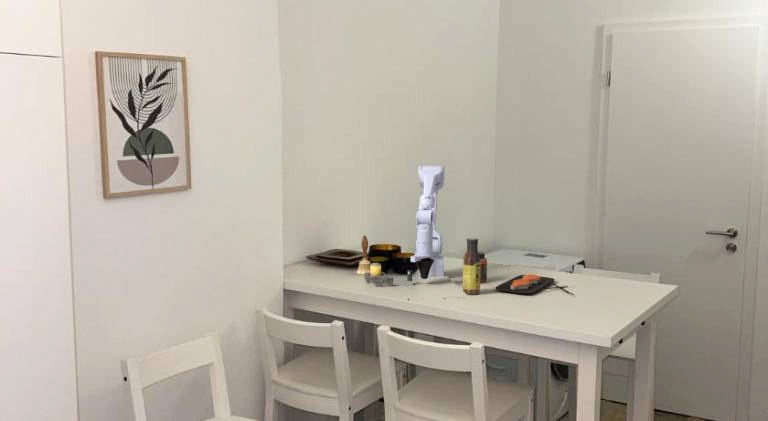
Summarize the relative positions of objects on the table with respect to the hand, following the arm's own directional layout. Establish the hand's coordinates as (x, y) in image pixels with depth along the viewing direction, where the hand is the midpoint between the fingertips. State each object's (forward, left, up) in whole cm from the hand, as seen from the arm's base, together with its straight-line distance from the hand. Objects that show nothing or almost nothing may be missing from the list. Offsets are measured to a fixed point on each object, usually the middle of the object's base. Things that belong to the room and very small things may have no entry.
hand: (424, 278), depth 278 cm
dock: (+12, -6, -3) cm, 14 cm away
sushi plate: (-44, +7, -4) cm, 45 cm away
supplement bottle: (-23, -8, -4) cm, 24 cm away
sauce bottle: (-15, +10, -4) cm, 19 cm away
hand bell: (+19, -24, -4) cm, 30 cm away
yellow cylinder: (+17, -8, -2) cm, 19 cm away
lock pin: (+8, 0, -2) cm, 9 cm away
